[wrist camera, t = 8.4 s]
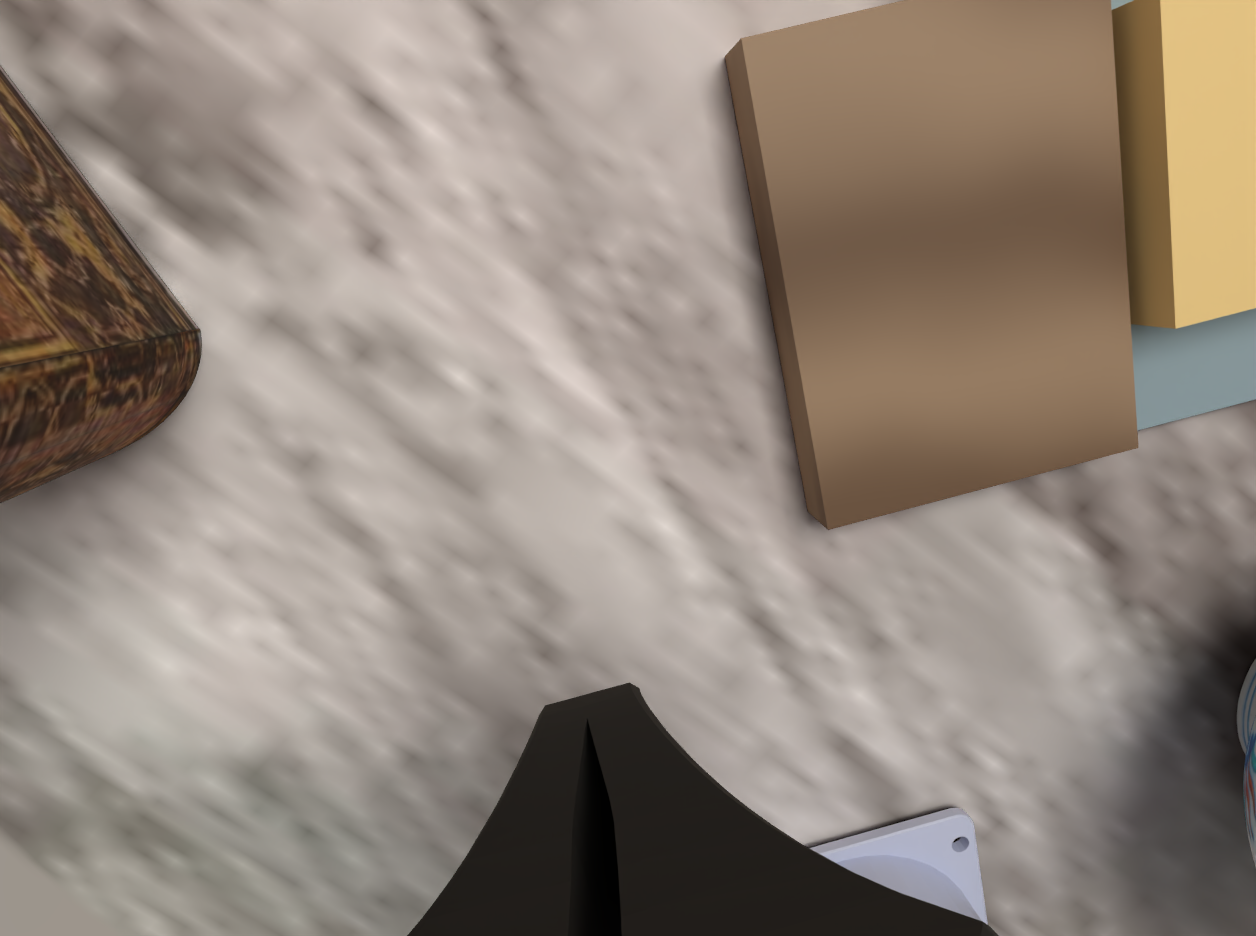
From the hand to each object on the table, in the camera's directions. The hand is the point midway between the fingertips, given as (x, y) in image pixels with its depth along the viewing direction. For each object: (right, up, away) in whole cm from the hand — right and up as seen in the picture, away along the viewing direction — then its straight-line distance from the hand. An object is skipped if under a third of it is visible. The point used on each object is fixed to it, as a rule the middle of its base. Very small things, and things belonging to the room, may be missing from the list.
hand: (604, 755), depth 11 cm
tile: (+15, +12, +8) cm, 20 cm away
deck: (+8, +9, +8) cm, 14 cm away
